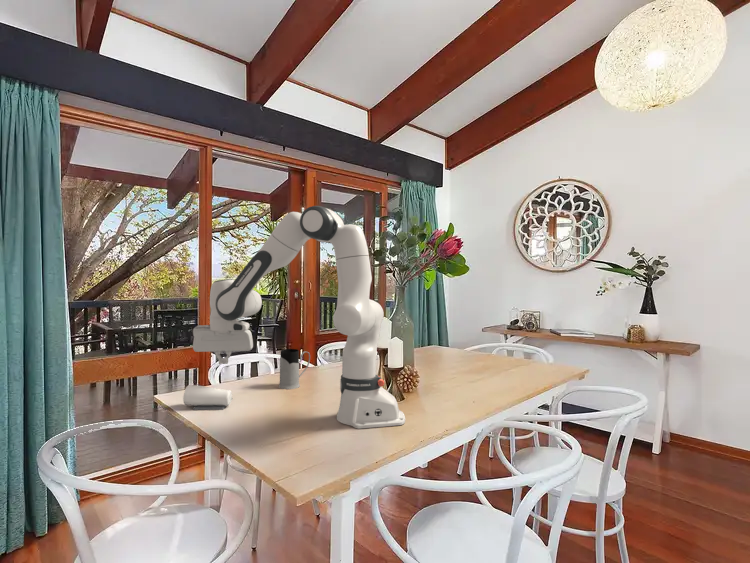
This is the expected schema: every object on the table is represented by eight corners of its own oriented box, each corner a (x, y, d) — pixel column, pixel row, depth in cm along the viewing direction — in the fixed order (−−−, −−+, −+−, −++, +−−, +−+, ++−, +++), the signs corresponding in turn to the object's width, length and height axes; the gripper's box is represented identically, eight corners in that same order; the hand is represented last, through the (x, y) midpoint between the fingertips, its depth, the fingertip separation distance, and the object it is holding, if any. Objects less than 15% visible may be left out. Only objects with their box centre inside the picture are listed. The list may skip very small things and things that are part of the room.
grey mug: (274, 385, 176) (275, 350, 176) (304, 380, 186) (304, 346, 185) (285, 390, 170) (285, 353, 169) (315, 384, 179) (315, 349, 179)
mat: (232, 399, 157) (232, 397, 157) (223, 409, 145) (223, 408, 145) (204, 399, 156) (204, 397, 156) (193, 409, 144) (193, 408, 144)
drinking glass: (234, 388, 152) (192, 384, 152) (229, 388, 146) (185, 384, 145) (231, 407, 150) (189, 404, 150) (225, 408, 144) (181, 405, 143)
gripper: (189, 326, 146) (190, 366, 147) (250, 325, 148) (250, 365, 148) (196, 324, 153) (196, 362, 153) (253, 323, 154) (254, 361, 154)
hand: (223, 363), depth 150 cm, fingers closed
